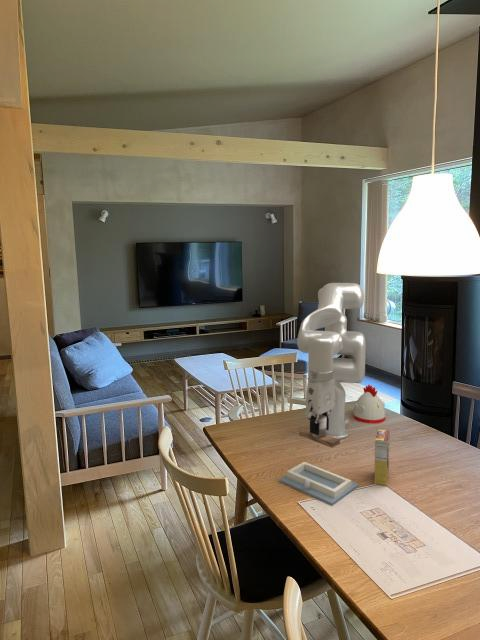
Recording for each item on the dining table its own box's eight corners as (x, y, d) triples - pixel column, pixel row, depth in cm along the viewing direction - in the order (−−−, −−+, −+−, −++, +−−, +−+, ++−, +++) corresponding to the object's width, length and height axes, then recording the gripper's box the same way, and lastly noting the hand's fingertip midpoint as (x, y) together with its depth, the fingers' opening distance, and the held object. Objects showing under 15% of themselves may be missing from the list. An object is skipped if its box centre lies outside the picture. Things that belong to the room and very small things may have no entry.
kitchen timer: (366, 425, 194) (368, 391, 192) (346, 415, 207) (347, 383, 204) (392, 420, 200) (393, 387, 198) (370, 410, 212) (372, 379, 210)
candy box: (375, 471, 155) (377, 428, 153) (389, 473, 154) (391, 430, 151) (373, 484, 147) (374, 439, 144) (387, 486, 145) (389, 441, 143)
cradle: (306, 465, 160) (306, 456, 159) (358, 486, 145) (358, 476, 145) (279, 481, 149) (279, 471, 149) (332, 505, 135) (332, 495, 134)
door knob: (340, 443, 141) (340, 420, 140) (331, 448, 139) (332, 424, 137) (307, 431, 151) (307, 410, 150) (298, 435, 148) (299, 413, 147)
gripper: (314, 383, 133) (313, 443, 136) (345, 372, 145) (344, 426, 148) (293, 378, 138) (293, 435, 141) (325, 368, 150) (324, 421, 153)
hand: (319, 430), depth 144 cm, fingers closed on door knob, 4 cm apart
